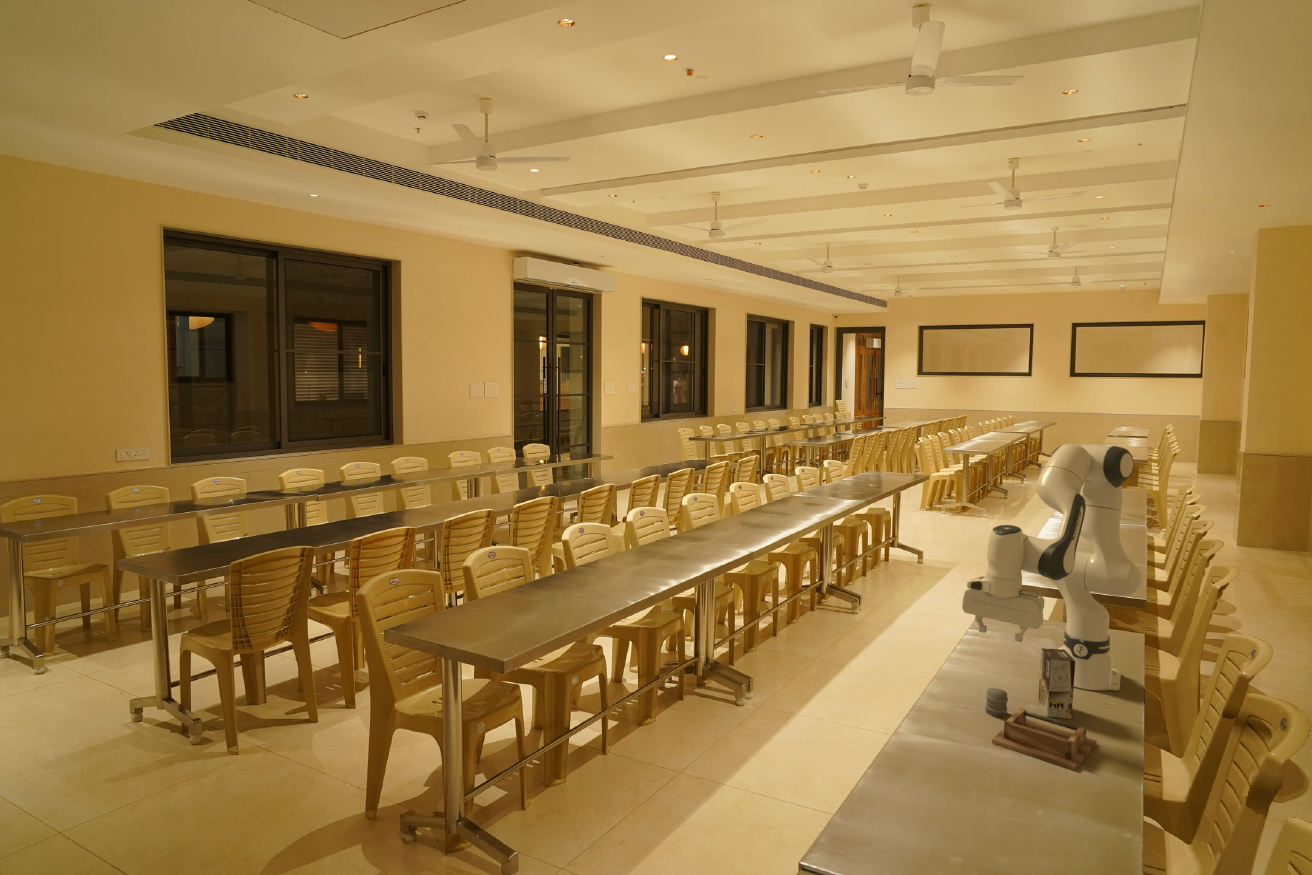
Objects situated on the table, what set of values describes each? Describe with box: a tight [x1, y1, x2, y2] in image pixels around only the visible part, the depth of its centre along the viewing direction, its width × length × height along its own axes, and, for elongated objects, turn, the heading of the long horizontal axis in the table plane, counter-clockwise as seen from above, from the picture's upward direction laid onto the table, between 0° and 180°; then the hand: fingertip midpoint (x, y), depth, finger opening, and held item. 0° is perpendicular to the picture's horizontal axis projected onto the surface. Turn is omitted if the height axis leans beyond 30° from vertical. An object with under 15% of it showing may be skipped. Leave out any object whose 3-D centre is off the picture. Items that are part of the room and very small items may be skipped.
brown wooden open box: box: [991, 708, 1097, 772], centre depth 192 cm, size 18×19×5 cm
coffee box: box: [1037, 647, 1076, 720], centre depth 210 cm, size 9×6×16 cm
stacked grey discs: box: [984, 687, 1009, 718], centre depth 209 cm, size 5×5×6 cm
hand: (1000, 636), depth 207 cm, fingers open, 8 cm apart
